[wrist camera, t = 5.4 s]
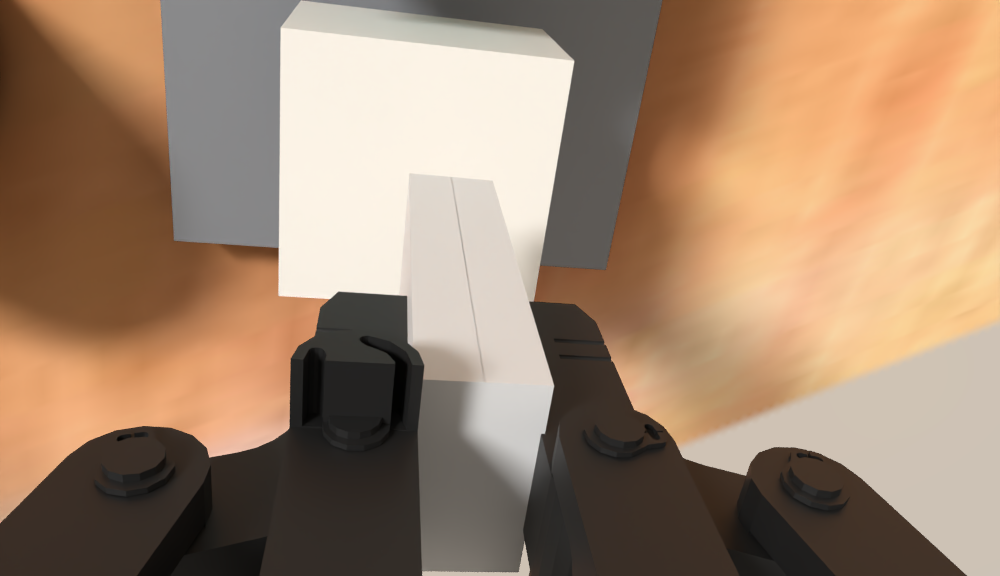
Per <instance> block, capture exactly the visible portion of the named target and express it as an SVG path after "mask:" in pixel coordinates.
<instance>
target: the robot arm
mask: <svg viewBox="0 0 1000 576" xmlns="http://www.w3.org/2000/svg"><path fill="white" fill-rule="evenodd" d="M524 541H525V545H526V550H527V555H528V561H529V566H530V573H529V576H967V575H965V574H964V573H963V572H962V571H961V570H960V569H959V568H958V567H957V566H956V565H954V563H952V562H951V561H950V560H949V559H948V558H947V557H946V556H945V555H944V554H943V553H942V552H940V551H939V550H938V549H937V548H936V547H935V546H934V545H933V544H932V543H930V541H929V540H927V539H926V538H925V537H924V536H923V535H922V534H921V533H920V532H919V531H918V530H916V529H915V528H914V527H913V526H912V525H911V524H910V523H909V522H908V521H907V520H906V519H905V518H904V517H902V516H901V515H900V514H899V513H898V512H897V511H896V510H894V508H893V507H892V506H890V505H889V504H888V503H887V502H886V501H885V500H884V499H883V498H882V497H881V496H880V495H878V494H877V493H876V492H875V491H874V490H873V489H872V488H871V487H870V486H868V484H866V483H865V482H864V481H863V480H862V479H861V478H860V477H858V476H857V475H856V474H854V473H853V472H852V471H850V470H849V469H847V468H846V467H845V466H843V465H842V464H840V463H838V462H836V461H833V460H831V459H829V458H827V457H825V456H823V455H822V454H819V453H815V452H812V451H807V450H803V449H798V448H784V447H783V448H782V447H774V448H771V449H768V450H765V451H762V452H759V453H758V454H757V455H756V457H755V458H754V459H753V461H752V462H751V464H750V466H749V469H748V472H747V475H746V476H744V475H740V474H736V473H732V472H729V471H725V470H721V469H717V468H713V467H708V466H705V465H702V464H698V463H695V462H692V461H689V460H686V459H684V458H683V457H682V455H681V453H680V451H679V449H678V447H677V445H676V443H675V441H674V439H673V438H672V437H671V436H670V434H669V433H668V432H667V430H666V429H665V428H664V427H663V426H662V425H660V424H659V423H657V422H656V421H655V420H653V419H652V418H650V417H649V416H647V415H645V414H643V413H640V412H637V411H635V410H634V409H633V406H632V404H631V402H630V400H629V397H628V395H627V393H626V390H625V388H624V386H623V384H622V381H621V379H620V377H619V374H618V372H617V370H616V368H615V365H614V363H613V362H611V356H610V354H609V352H608V349H607V347H606V345H604V340H603V338H602V335H601V333H600V331H599V329H598V326H597V324H596V322H595V321H594V320H593V319H591V318H590V317H589V316H588V315H587V314H586V313H584V312H583V311H582V310H581V309H580V308H579V307H577V306H576V305H575V304H561V303H546V302H531V301H529V300H528V297H527V293H526V290H525V287H524V283H523V280H522V277H521V273H520V270H519V267H518V263H517V260H516V257H515V253H514V250H513V247H512V243H511V240H510V237H509V233H508V230H507V227H506V223H505V220H504V217H503V213H502V210H501V207H500V203H499V200H498V197H497V193H496V190H495V187H494V183H493V181H491V180H479V179H468V178H457V177H446V176H435V175H423V174H412V173H409V183H408V195H407V207H406V219H405V231H404V244H403V256H402V268H401V280H400V292H399V295H385V294H370V293H355V292H339V291H338V292H337V293H336V294H335V295H334V296H333V297H332V298H331V299H330V300H328V301H327V302H326V303H325V304H324V305H323V306H322V307H321V308H320V313H319V318H318V323H317V330H316V334H315V336H314V337H313V338H311V339H309V340H308V341H306V342H304V343H303V344H301V345H299V346H298V348H297V350H296V351H295V353H294V354H293V356H292V358H291V376H290V428H289V430H288V431H286V432H285V433H284V434H282V435H281V436H279V437H278V438H276V439H275V440H273V441H271V442H269V443H266V444H264V445H262V446H259V447H257V448H254V449H250V450H246V451H242V452H238V453H233V454H227V455H222V456H216V457H210V458H209V455H208V452H207V448H206V447H205V446H204V445H203V444H202V443H200V442H199V441H198V440H197V439H196V438H195V437H194V436H193V435H190V434H187V433H184V432H181V431H178V430H176V429H173V428H165V427H149V426H142V427H135V428H129V429H123V430H116V431H113V432H111V433H108V434H106V435H103V436H100V437H98V438H95V439H93V440H90V441H88V442H87V443H85V444H84V445H82V446H81V447H80V448H78V449H77V450H76V451H74V452H73V453H71V454H70V455H69V456H67V457H66V458H65V459H64V460H63V461H62V462H61V463H60V464H59V465H58V466H57V467H56V468H55V469H54V470H53V471H52V472H51V473H50V474H49V475H48V476H47V477H46V478H45V479H44V480H43V481H42V482H41V483H40V484H39V485H38V486H37V487H36V488H35V489H34V490H33V491H32V492H31V493H30V494H29V495H28V496H27V497H26V498H25V499H24V500H23V501H22V502H21V503H20V504H19V505H18V506H17V507H16V508H15V509H14V510H13V511H12V512H11V513H10V514H9V515H8V516H7V517H6V518H5V519H4V520H3V521H2V522H1V523H0V576H422V571H456V572H457V571H460V572H519V567H520V562H521V556H522V551H523V546H524Z"/></svg>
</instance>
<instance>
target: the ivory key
mask: <svg viewBox="0 0 1000 576" xmlns="http://www.w3.org/2000/svg"><path fill="white" fill-rule="evenodd" d="M573 66H574V60H573V59H572V58H571V57H570V56H569V55H568V54H567V53H566V52H565V51H564V50H563V49H562V48H561V47H560V46H559V45H558V44H557V43H556V42H555V41H554V40H553V39H552V38H551V37H550V36H549V35H548V34H547V33H546V32H545V31H544V30H543V29H538V28H529V27H521V26H512V25H504V24H495V23H487V22H479V21H470V20H462V19H453V18H445V17H436V16H428V15H420V14H411V13H403V12H394V11H386V10H377V9H369V8H361V7H352V6H344V5H335V4H327V3H318V2H310V1H302V0H301V1H300V2H299V4H298V5H297V6H296V8H295V9H294V10H293V12H292V13H291V14H290V16H289V17H288V18H287V20H286V21H285V22H284V24H283V25H282V26H281V40H280V173H279V296H289V297H307V298H324V299H331V298H332V297H333V296H334V295H335V294H336V293H337V292H338V291H339V292H355V293H370V294H385V295H399V292H400V280H401V268H402V256H403V244H404V231H405V219H406V207H407V195H408V183H409V173H412V174H423V175H435V176H446V177H457V178H468V179H479V180H491V181H493V183H494V187H495V190H496V193H497V197H498V200H499V203H500V207H501V210H502V213H503V217H504V220H505V223H506V227H507V230H508V233H509V237H510V240H511V243H512V247H513V250H514V253H515V257H516V260H517V263H518V267H519V270H520V273H521V277H522V280H523V283H524V287H525V290H526V293H527V297H528V300H529V301H531V302H534V297H535V291H536V285H537V279H538V274H539V268H540V262H541V256H542V250H543V244H544V238H545V232H546V226H547V220H548V214H549V208H550V202H551V197H552V191H553V185H554V179H555V173H556V167H557V161H558V155H559V149H560V143H561V137H562V131H563V125H564V120H565V114H566V108H567V102H568V96H569V90H570V84H571V78H572V72H573Z"/></svg>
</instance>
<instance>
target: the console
mask: <svg viewBox="0 0 1000 576" xmlns="http://www.w3.org/2000/svg"><path fill="white" fill-rule="evenodd" d="M160 1H161V18H162V36H163V54H164V72H165V89H166V107H167V125H168V143H169V160H170V178H171V196H172V214H173V231H174V241H185V242H199V243H214V244H229V245H244V246H259V247H274V248H279V173H280V40H281V26H282V25H283V24H284V22H285V21H286V20H287V18H288V17H289V16H290V14H291V13H292V12H293V10H294V9H295V8H296V6H297V5H298V4H299V2H300V1H301V0H160ZM302 1H310V2H318V3H327V4H335V5H344V6H352V7H361V8H369V9H377V10H386V11H394V12H403V13H411V14H420V15H428V16H436V17H445V18H453V19H462V20H470V21H479V22H487V23H495V24H504V25H512V26H521V27H529V28H538V29H543V30H544V31H545V32H546V33H547V34H548V35H549V36H550V37H551V38H552V39H553V40H554V41H555V42H556V43H557V44H558V45H559V46H560V47H561V48H562V49H563V50H564V51H565V52H566V53H567V54H568V55H569V56H570V57H571V58H572V59H573V60H574V66H573V72H572V78H571V84H570V90H569V96H568V102H567V108H566V114H565V120H564V125H563V131H562V137H561V143H560V149H559V155H558V161H557V167H556V173H555V179H554V185H553V191H552V197H551V202H550V208H549V214H548V220H547V226H546V232H545V238H544V244H543V250H542V256H541V262H540V266H555V267H570V268H585V269H600V270H606V267H607V262H608V257H609V252H610V248H611V243H612V238H613V233H614V229H615V224H616V219H617V214H618V210H619V205H620V200H621V195H622V191H623V186H624V181H625V176H626V172H627V167H628V162H629V157H630V152H631V148H632V143H633V138H634V133H635V129H636V124H637V119H638V114H639V110H640V105H641V100H642V95H643V91H644V86H645V81H646V76H647V72H648V67H649V62H650V57H651V53H652V48H653V43H654V38H655V34H656V29H657V24H658V19H659V15H660V10H661V5H662V0H302Z"/></svg>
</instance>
